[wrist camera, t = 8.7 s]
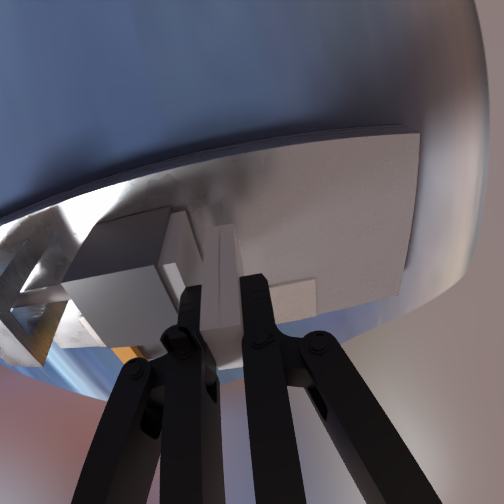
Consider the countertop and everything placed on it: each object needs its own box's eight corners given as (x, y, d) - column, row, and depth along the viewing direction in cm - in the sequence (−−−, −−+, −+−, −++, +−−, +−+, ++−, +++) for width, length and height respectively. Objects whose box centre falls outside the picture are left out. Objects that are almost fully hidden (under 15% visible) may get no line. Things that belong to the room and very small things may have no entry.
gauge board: (66, 332, 24) (44, 402, 18) (-7, 221, 17) (-61, 289, 10) (388, 278, 23) (429, 354, 17) (402, 124, 16) (490, 176, 9)
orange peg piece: (135, 343, 22) (125, 398, 18) (118, 319, 20) (104, 377, 16) (151, 342, 22) (144, 398, 18) (135, 317, 20) (123, 376, 16)
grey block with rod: (74, 341, 22) (59, 389, 18) (10, 251, 16) (-23, 299, 12) (225, 323, 22) (228, 383, 18) (184, 203, 16) (172, 261, 12)
